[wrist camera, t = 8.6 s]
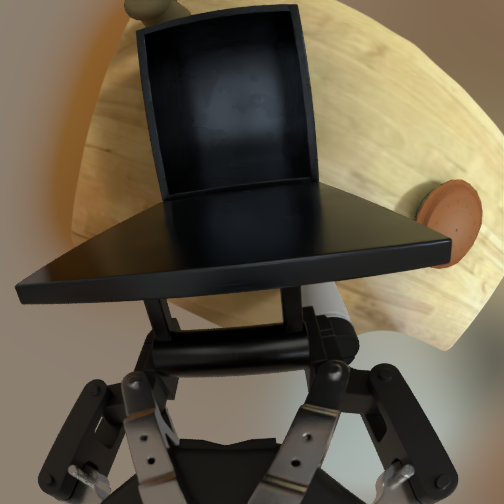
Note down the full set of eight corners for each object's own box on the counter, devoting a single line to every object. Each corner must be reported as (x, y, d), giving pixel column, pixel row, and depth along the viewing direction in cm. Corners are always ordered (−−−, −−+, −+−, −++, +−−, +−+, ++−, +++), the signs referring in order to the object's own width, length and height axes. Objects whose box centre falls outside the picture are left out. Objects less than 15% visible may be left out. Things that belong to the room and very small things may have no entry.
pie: (389, 244, 42) (402, 259, 37) (427, 158, 35) (446, 165, 31) (445, 267, 44) (459, 281, 39) (480, 196, 37) (497, 205, 33)
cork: (193, 35, 28) (172, 8, 18) (150, 46, 28) (116, 26, 18) (190, 1, 25) (169, -33, 15) (147, 12, 25) (115, -15, 15)
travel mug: (281, 243, 42) (302, 341, 24) (324, 243, 42) (370, 336, 24) (279, 279, 44) (295, 382, 27) (320, 278, 44) (354, 377, 27)
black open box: (171, 54, 29) (135, 30, 17) (282, 38, 28) (297, 3, 17) (190, 176, 37) (163, 204, 25) (297, 162, 36) (319, 185, 25)
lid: (13, 285, 7) (70, 399, 9) (453, 238, 7) (423, 381, 8) (161, 201, 25) (172, 258, 27) (320, 181, 24) (324, 241, 26)
